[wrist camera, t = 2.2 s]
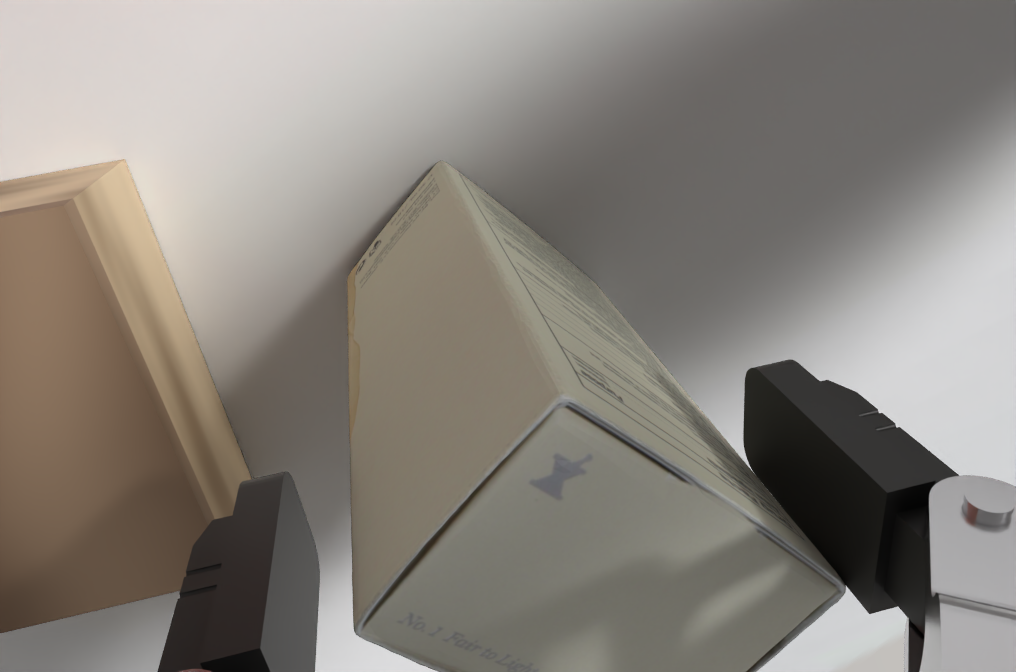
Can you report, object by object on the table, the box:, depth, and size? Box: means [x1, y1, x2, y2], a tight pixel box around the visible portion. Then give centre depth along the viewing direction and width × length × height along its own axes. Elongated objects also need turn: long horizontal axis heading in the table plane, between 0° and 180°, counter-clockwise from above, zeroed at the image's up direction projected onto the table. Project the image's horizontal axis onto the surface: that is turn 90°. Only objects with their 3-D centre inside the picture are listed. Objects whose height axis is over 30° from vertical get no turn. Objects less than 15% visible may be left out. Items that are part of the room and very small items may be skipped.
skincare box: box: [347, 161, 846, 672], centre depth 15 cm, size 6×4×12 cm
